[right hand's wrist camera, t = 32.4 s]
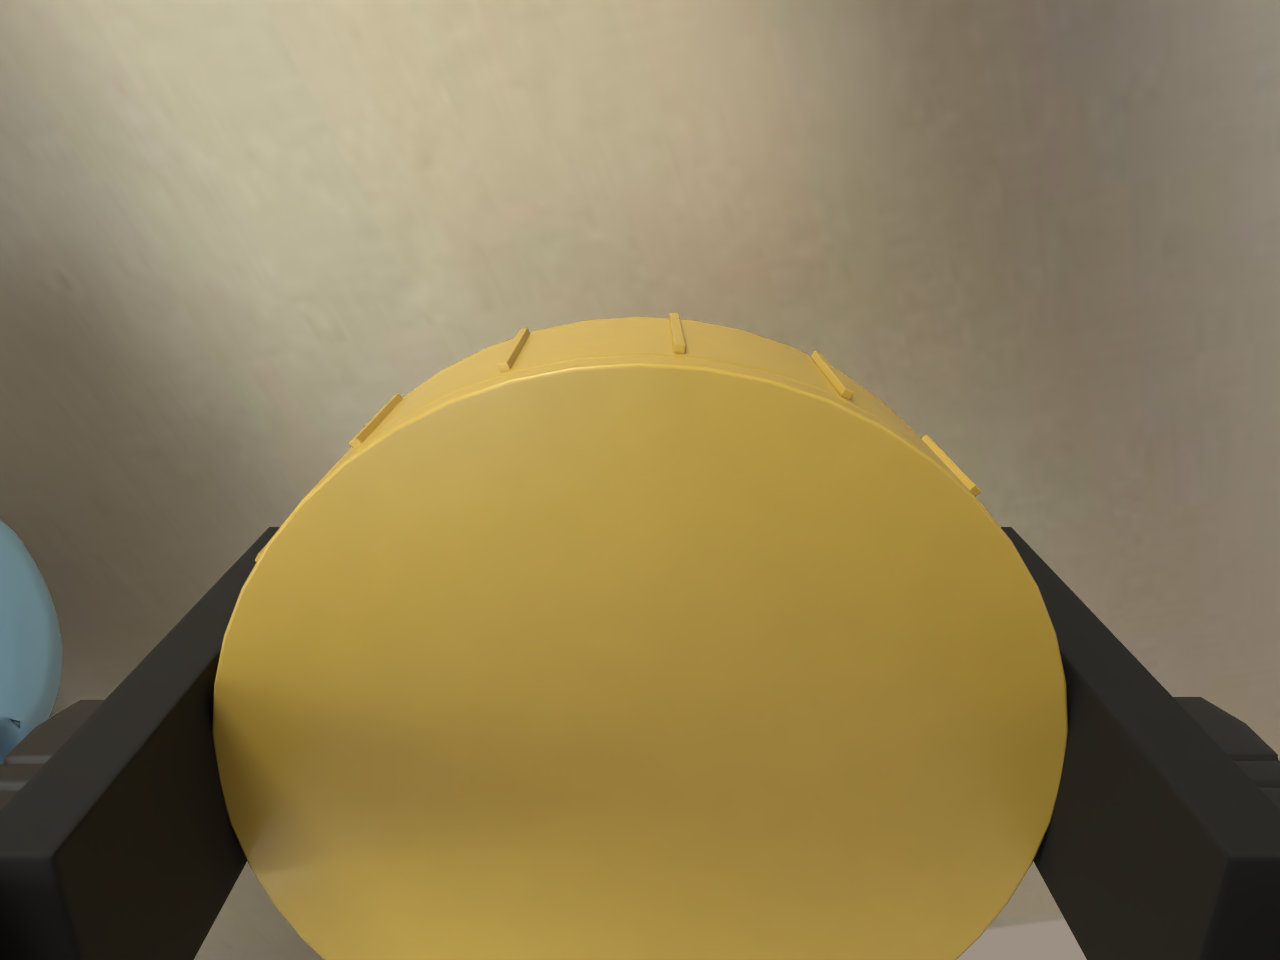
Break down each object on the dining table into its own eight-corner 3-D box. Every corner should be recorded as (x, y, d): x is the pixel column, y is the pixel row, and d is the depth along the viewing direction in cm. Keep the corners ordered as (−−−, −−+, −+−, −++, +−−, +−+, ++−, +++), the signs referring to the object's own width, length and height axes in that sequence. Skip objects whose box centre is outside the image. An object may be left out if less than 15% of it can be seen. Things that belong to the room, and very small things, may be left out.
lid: (133, 605, 12) (16, 712, 10) (717, 133, 10) (740, 132, 8) (584, 1019, 15) (574, 1177, 12) (1119, 713, 13) (1223, 837, 10)
